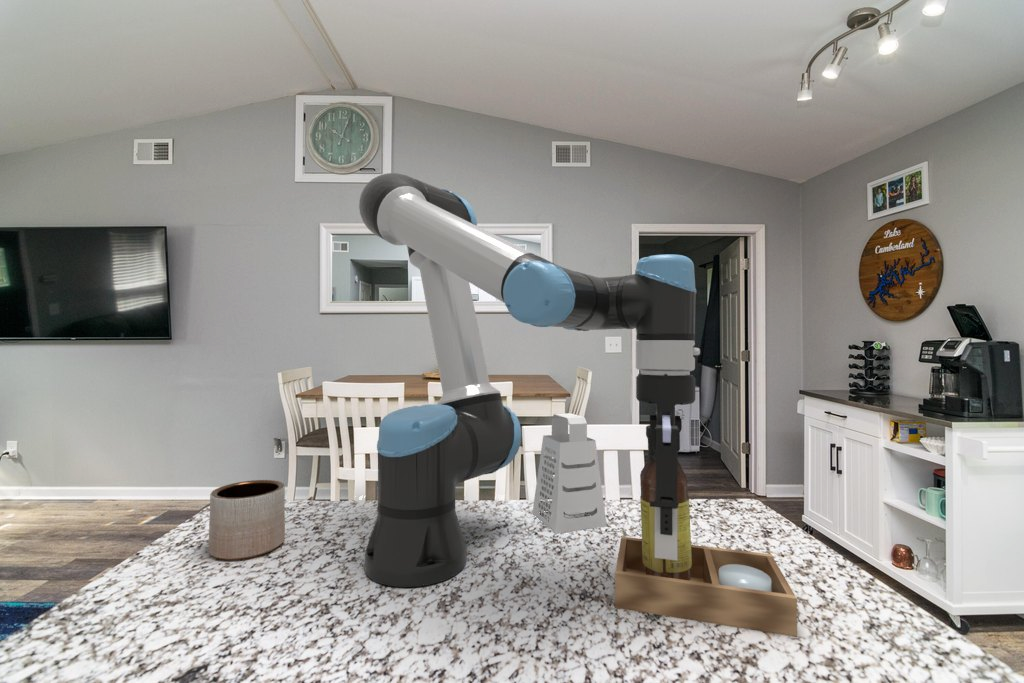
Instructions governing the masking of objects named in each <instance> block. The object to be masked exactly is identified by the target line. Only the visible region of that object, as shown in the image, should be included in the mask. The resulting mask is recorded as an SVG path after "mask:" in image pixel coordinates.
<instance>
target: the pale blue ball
mask: <svg viewBox="0 0 1024 683" xmlns="http://www.w3.org/2000/svg"><path fill="white" fill-rule="evenodd" d="M719 584H720V585H725V586H732V587H739V588H746V589H753V590H761V591H768V592H771V578H770V577H769V576H768V575H767V574H766V573H764V572H763V571H761V570H758V569H756V568H753V567H749V566H745V565H738V564H728V565H724V566H722V567H720V568H719Z"/></svg>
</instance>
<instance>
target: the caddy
mask: <svg viewBox="0 0 1024 683" xmlns="http://www.w3.org/2000/svg"><path fill="white" fill-rule="evenodd" d="M691 555H692V566H691V573H692V574H691V578H690V580H689V581H688V580H681V579H674V578H667V577H660V576H652V575H646V573H645V571H644V564H643V557H642V538H637V537H629V536H621V537H620V543H619V549H618V555H617V560H616V566H615V573H614V574H615V576H614V578H615V579H614V584H615V585H614V591H615V592H614V608H615V609H619V610H620V609H621V610H625V611H634V612H640V613H646V614H650V615H651V614H652V615H658V616H664V617H671V618H677V619H683V620H689V621H695V622H701V623H706V624H715V625H720V626H727V627H731V628H732V627H733V628H739V629H746V630H749V631H750V630H752V631H756V632H757V631H758V632H764V633H768V634H769V633H771V634H776V635H780V636H789V637H795V638H797V637H798V598H797V596H796V595H795V592H794V591H793V590H792V588H791V586H790V585H789V583H788V581H787V579H786V578H785V576H784V574H783V572H782V570H781V569H780V567H779V566H778V565H779V564H777V561H776V560H775V558H774V556H773V554H771V553H764V552H754V551H747V550H746V551H745V550H738V549H730V548H721V547H713V546H705V545H696V544H691ZM728 564H738V565H745V566H749V567H753V568H756V569H758V570H761V571H763V572H764V573H766V574H767V575H768V576H769V577H770V578H771V592H768V591H761V590H753V589H746V588H739V587H732V586H725V585H720V584H719V568H720V567H722V566H724V565H728Z"/></svg>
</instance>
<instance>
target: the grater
mask: <svg viewBox="0 0 1024 683" xmlns="http://www.w3.org/2000/svg"><path fill="white" fill-rule="evenodd" d="M552 415H553V416H551V434H548V435H547V434H546V435H545V434H544V435H543V436H542V442H541V450H540V455H539V464H538V469H537V477H536V478H537V480H536V485H535V490H534V491H535V492H534V499H533V507H532V512H531V515H532V514H533V515H534V516H533V515H532V516H533V517H535V516H536V517H537V518H538V519H539V520H540V521H539V520H538V519H537V518H536V517H535V518H536V519H537V520H538V521H539V522H541V521H542V522H543V523H544V524H545V527H547V528H548V529H549V530H550V529H551V530H550V531H551V532H553V533H554V534H555V535H559V533H560V534H566V532H567V533H572V532H573V533H574V532H579V531H585V530H593V529H598V528H605V527H608V524H607V518H606V509H605V501H604V495H603V488H602V481H601V472H600V464H599V458H598V457H599V456H598V450H597V443H596V442H597V441H596V439H594V438H591V437H588V422H587V420H586V418H585V416H582V415H578V414H575V413H571V412H568V413H553V414H552ZM544 455H545V456H544ZM548 499H549V500H548ZM544 511H545V512H544ZM546 511H548V512H547V513H546ZM549 511H551V512H549ZM539 512H541V513H539ZM585 512H586V514H587V516H586V515H585V516H579V517H573V518H567V517H564V513H565V514H566V515H569V516H571V515H578V514H584V513H585ZM590 515H591V516H590ZM545 516H546V518H545ZM542 522H541V523H542ZM543 523H542V524H543ZM544 524H543V525H544Z"/></svg>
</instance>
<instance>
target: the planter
mask: <svg viewBox="0 0 1024 683" xmlns="http://www.w3.org/2000/svg"><path fill="white" fill-rule="evenodd" d="M285 491H286V485H285V483H284V482H282V481H279V480H275V479H274V480H273V479H253V480H252V479H251V480H245V481H239V482H234V483H233V482H232V483H230V484H229V483H228V484H226V485H223V486H220V487H217V488H215V489H214V490H212V491H211V492H210V494H209V521H208V522H209V529H208V552H209V555H210V556H212V557H214V558H216V559H217V560H222V561H224V560H225V561H239V560H240V561H241V560H246V559H247V560H249V559H253V558H257V557H260V556H263V555H266V554H268V553H270V552H272V551H274V550H275V549H277V548H278V547H279V546H281V545H282V544H283V542H284V541H285V537H286V519H285V518H286V513H285V512H286V507H285V506H286V505H285V504H286V503H285V500H286V499H285V498H286V496H285V495H286V492H285Z"/></svg>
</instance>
